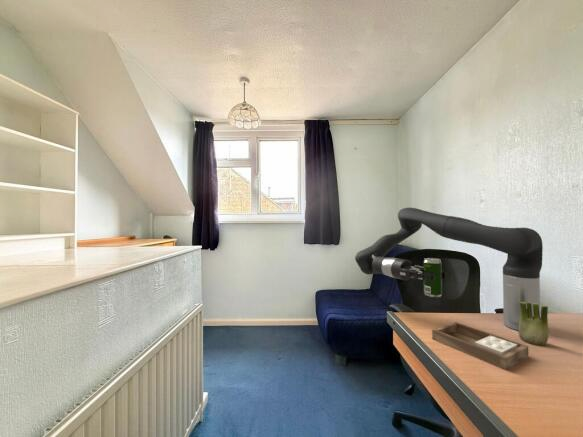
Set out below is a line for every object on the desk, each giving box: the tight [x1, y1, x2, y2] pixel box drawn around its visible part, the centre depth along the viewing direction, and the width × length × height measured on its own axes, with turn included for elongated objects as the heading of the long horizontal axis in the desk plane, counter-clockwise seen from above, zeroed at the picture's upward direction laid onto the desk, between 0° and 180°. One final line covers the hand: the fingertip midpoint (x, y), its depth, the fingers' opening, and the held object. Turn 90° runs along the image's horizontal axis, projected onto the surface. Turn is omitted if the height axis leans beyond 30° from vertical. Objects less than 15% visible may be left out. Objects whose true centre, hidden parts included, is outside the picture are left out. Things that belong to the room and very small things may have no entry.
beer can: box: [422, 257, 443, 298], centre depth 86 cm, size 5×5×12 cm
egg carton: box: [475, 335, 517, 355], centre depth 67 cm, size 8×6×4 cm
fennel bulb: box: [518, 302, 550, 347], centre depth 74 cm, size 6×5×12 cm
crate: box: [431, 321, 530, 371], centre depth 71 cm, size 12×18×4 cm, turn 28°
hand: (440, 276), depth 84 cm, fingers closed on beer can, 5 cm apart
